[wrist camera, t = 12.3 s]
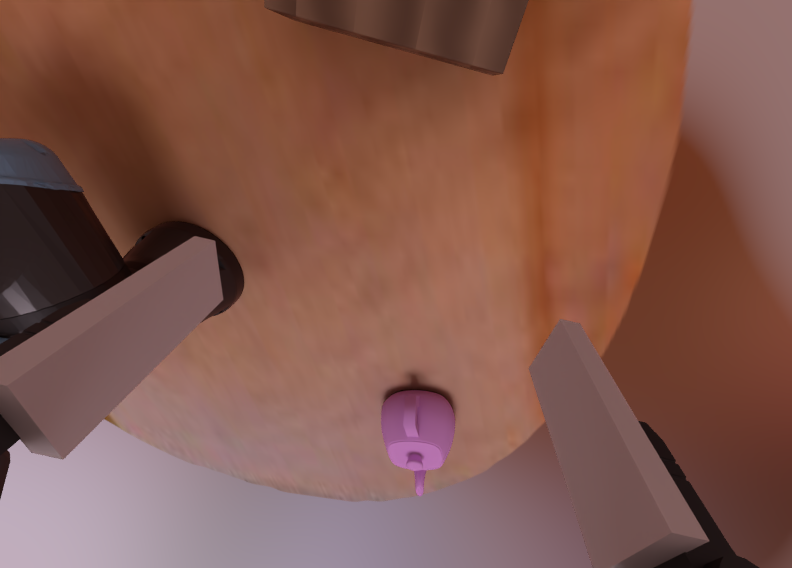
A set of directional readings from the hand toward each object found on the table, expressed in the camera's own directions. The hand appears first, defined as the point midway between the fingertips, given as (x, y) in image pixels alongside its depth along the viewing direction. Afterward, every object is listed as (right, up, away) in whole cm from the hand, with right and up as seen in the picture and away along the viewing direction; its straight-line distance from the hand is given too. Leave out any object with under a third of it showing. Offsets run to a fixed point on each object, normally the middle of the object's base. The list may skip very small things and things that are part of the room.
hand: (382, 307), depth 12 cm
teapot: (+5, -23, +48) cm, 53 cm away
